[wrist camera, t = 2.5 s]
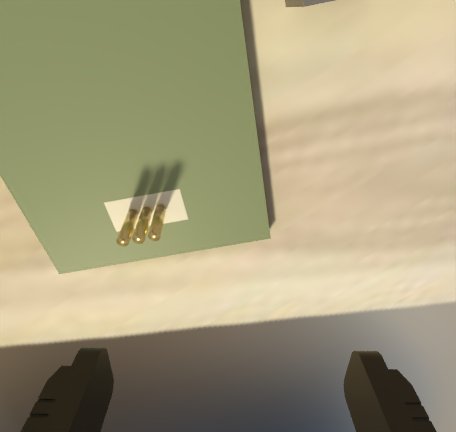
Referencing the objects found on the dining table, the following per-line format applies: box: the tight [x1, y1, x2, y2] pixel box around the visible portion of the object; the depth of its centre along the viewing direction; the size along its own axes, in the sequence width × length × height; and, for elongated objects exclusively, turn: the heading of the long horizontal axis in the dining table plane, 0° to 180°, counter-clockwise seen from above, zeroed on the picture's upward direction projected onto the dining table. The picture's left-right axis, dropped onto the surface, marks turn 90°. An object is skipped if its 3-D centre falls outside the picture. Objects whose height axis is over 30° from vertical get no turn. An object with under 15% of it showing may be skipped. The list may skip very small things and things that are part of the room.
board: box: [0, 0, 270, 274], centre depth 25 cm, size 24×20×1 cm
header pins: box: [117, 204, 166, 247], centre depth 26 cm, size 1×3×4 cm, turn 100°
